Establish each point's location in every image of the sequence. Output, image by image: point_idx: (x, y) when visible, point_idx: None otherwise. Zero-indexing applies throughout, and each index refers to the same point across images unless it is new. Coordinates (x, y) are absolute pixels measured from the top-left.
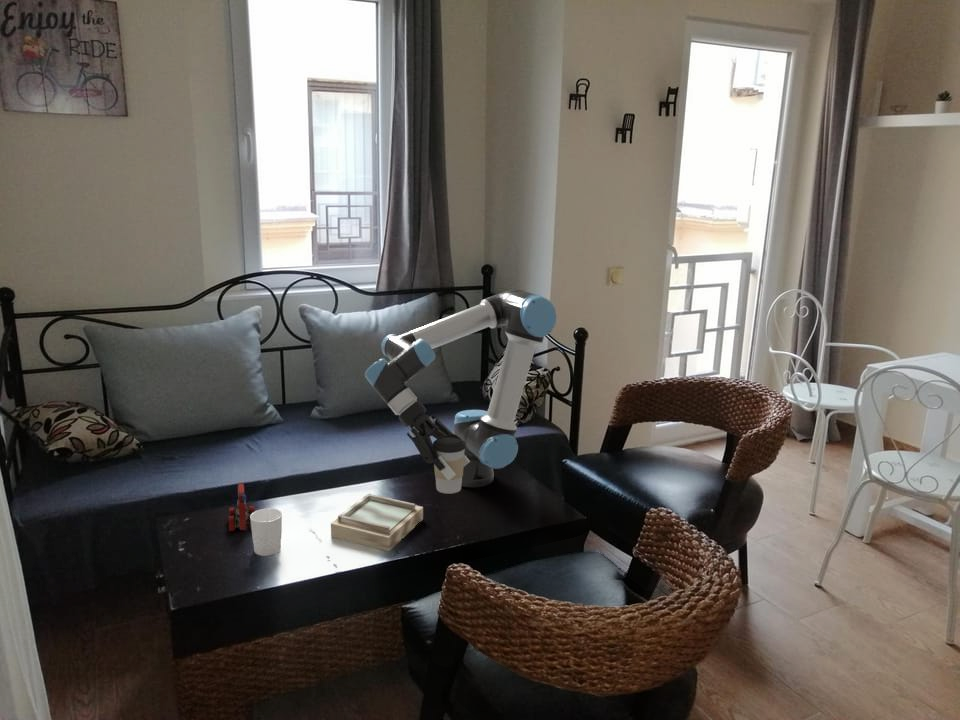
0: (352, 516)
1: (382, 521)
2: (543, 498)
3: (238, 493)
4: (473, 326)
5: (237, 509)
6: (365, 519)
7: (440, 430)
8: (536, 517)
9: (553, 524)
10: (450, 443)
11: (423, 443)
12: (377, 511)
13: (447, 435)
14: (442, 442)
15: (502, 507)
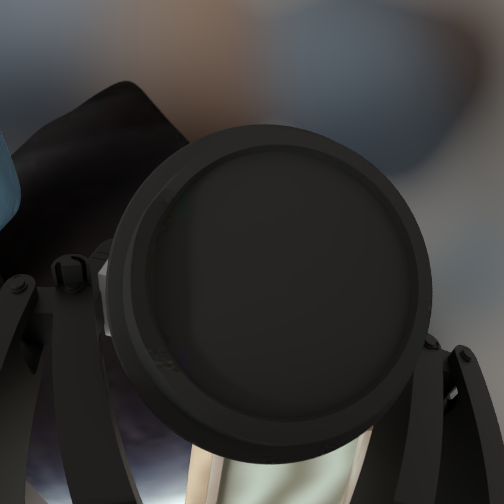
0: None
1: (323, 463)
2: (47, 140)
3: None
4: None
5: None
6: (322, 497)
7: (72, 463)
8: (127, 134)
9: (154, 105)
10: (411, 228)
11: (498, 449)
12: (272, 495)
13: (158, 340)
14: (416, 325)
15: (87, 208)
